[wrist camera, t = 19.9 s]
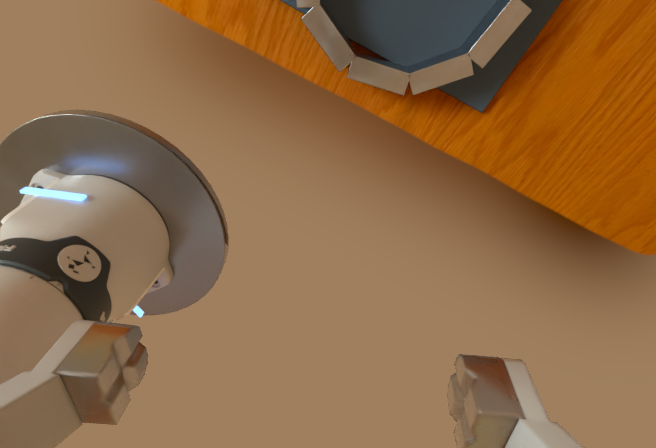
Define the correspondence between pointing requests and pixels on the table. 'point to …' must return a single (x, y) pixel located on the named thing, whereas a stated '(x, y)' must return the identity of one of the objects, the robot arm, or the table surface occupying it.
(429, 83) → the ring
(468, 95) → the mat
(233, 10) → the table surface
